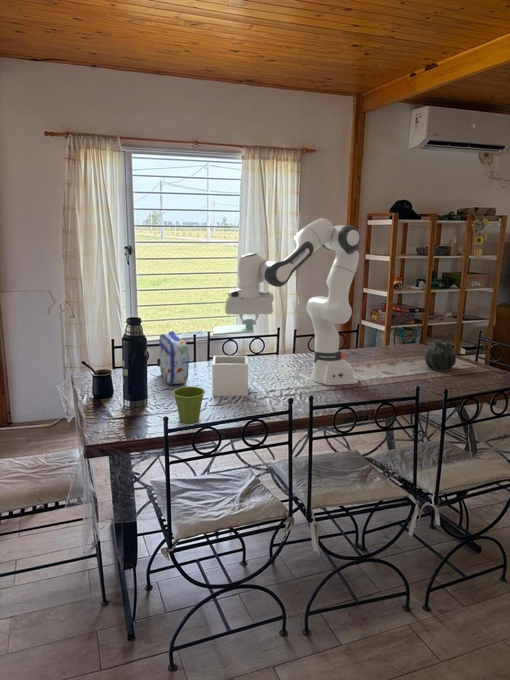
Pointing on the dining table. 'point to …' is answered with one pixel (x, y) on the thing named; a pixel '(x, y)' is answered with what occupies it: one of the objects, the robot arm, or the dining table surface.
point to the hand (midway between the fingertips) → (249, 324)
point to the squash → (440, 357)
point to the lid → (235, 328)
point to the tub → (230, 376)
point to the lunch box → (173, 359)
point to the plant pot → (189, 403)
